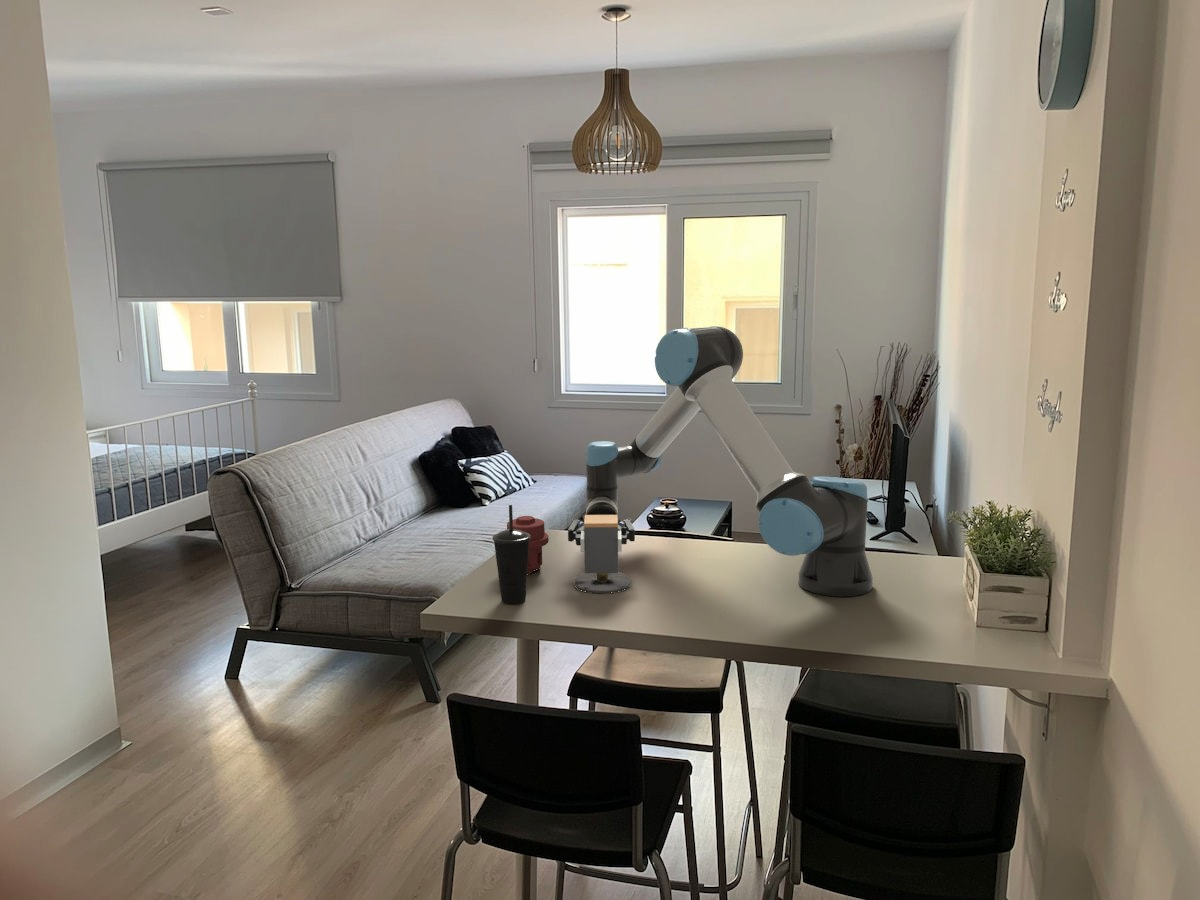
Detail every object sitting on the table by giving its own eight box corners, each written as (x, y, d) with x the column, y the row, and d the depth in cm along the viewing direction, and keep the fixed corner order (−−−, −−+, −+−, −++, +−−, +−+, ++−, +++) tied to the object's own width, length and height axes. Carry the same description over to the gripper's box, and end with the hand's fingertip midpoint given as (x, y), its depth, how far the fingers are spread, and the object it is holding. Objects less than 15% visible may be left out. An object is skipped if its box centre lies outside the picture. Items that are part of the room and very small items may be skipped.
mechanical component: (550, 564, 208) (547, 577, 198) (507, 564, 208) (502, 578, 198) (549, 512, 206) (546, 523, 196) (505, 512, 206) (500, 523, 196)
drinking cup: (499, 593, 188) (496, 500, 185) (535, 595, 187) (533, 501, 184) (490, 606, 181) (486, 509, 177) (527, 608, 180) (525, 510, 176)
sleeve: (617, 562, 196) (617, 514, 194) (618, 573, 189) (617, 523, 187) (585, 563, 196) (585, 514, 194) (584, 573, 189) (584, 523, 187)
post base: (636, 577, 197) (636, 546, 196) (622, 595, 186) (622, 562, 185) (583, 573, 200) (583, 542, 199) (567, 591, 189) (566, 558, 188)
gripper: (644, 532, 210) (649, 562, 187) (559, 532, 210) (553, 563, 187) (644, 501, 208) (649, 527, 186) (558, 501, 209) (552, 528, 186)
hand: (601, 545), depth 187 cm, fingers closed on sleeve, 7 cm apart
